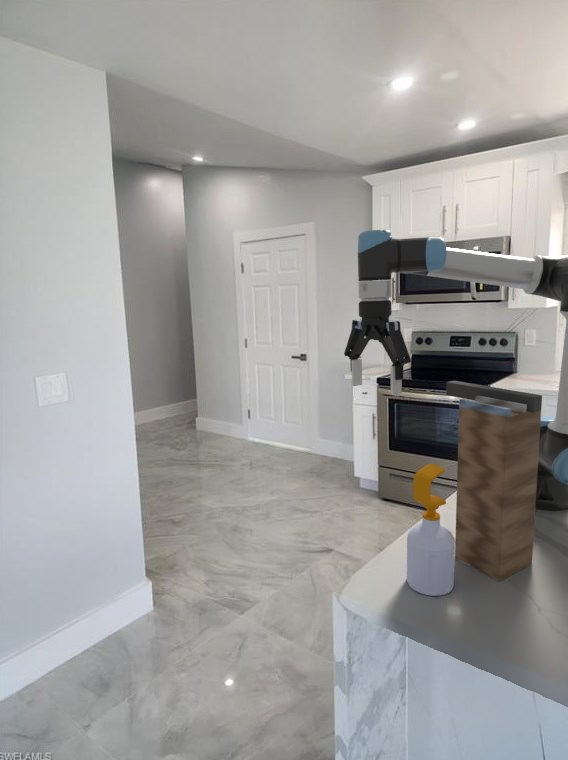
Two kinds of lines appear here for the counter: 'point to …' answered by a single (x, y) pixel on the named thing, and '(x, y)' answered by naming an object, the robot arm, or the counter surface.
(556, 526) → the counter surface
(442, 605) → the counter surface
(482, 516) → the wooden block tower
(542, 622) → the counter surface
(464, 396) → the bar
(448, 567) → the soap bottle
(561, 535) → the counter surface
